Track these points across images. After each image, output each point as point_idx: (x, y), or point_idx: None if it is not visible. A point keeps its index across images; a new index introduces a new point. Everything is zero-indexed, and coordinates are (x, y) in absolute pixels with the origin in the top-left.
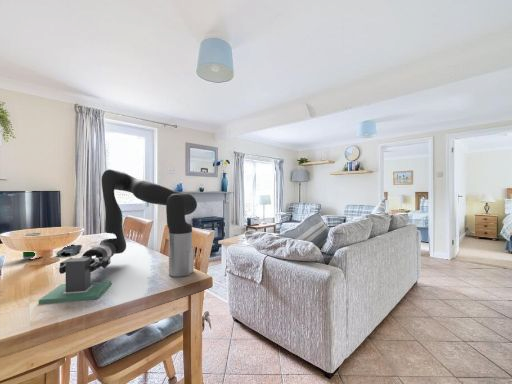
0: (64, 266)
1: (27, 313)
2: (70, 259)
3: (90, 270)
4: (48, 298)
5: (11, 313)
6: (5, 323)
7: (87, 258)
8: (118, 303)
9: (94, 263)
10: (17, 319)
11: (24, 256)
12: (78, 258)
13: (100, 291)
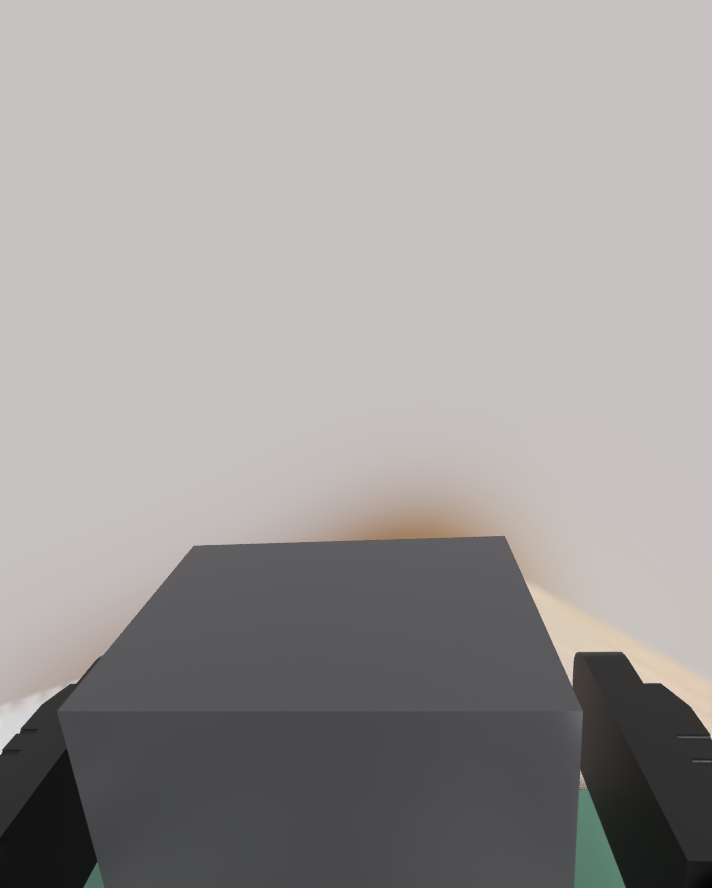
0: (601, 700)
1: (571, 684)
2: (533, 629)
3: None
4: (582, 803)
5: (697, 699)
6: (583, 615)
7: (145, 647)
8: (17, 711)
9: (27, 752)
10: (559, 636)
11: None
12: (370, 674)
13: (85, 884)
